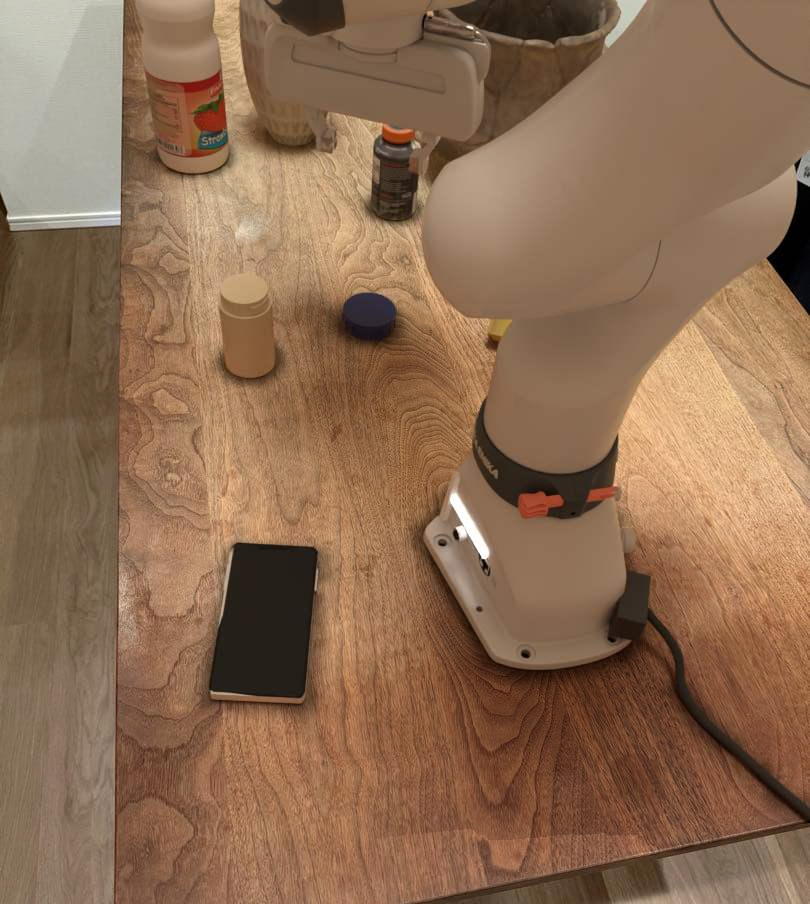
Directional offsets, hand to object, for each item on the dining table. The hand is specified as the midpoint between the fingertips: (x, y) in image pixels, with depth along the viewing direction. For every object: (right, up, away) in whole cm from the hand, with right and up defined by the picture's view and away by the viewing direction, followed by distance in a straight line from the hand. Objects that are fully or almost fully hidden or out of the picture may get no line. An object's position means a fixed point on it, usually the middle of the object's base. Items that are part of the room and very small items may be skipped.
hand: (372, 160), depth 85 cm
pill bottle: (+2, +6, +29) cm, 30 cm away
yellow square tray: (+17, -13, +17) cm, 27 cm away
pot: (+16, +16, +38) cm, 44 cm away
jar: (-14, -17, +10) cm, 24 cm away
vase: (-13, +20, +38) cm, 45 cm away
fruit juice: (-25, +15, +33) cm, 44 cm away
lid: (-1, -11, +14) cm, 18 cm away
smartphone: (-9, -44, -9) cm, 46 cm away
